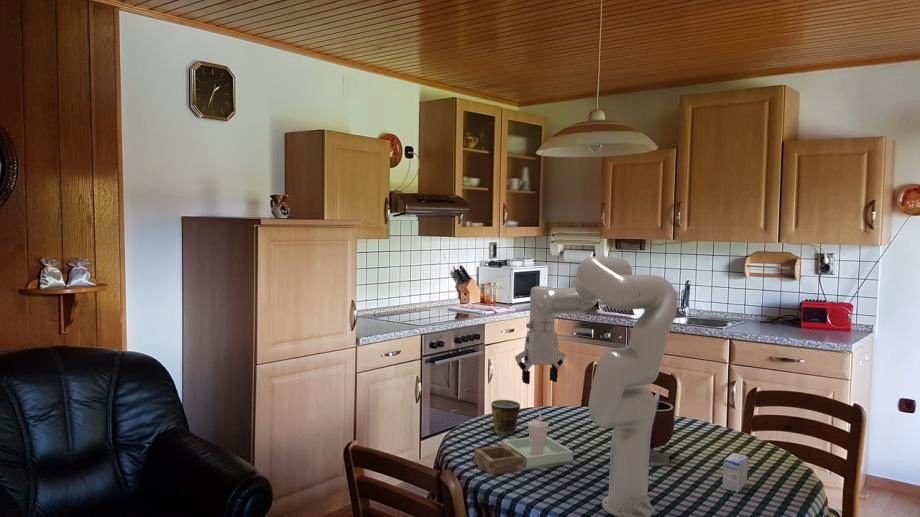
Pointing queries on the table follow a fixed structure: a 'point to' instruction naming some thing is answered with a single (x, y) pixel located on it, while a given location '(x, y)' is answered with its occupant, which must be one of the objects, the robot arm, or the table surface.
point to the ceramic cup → (505, 416)
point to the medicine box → (735, 472)
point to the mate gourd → (661, 431)
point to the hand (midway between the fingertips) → (539, 382)
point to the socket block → (498, 460)
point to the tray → (550, 456)
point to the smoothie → (537, 436)
